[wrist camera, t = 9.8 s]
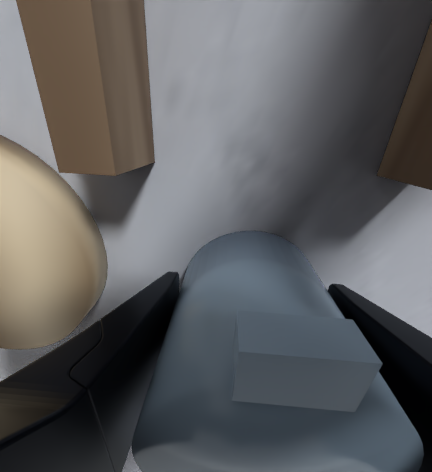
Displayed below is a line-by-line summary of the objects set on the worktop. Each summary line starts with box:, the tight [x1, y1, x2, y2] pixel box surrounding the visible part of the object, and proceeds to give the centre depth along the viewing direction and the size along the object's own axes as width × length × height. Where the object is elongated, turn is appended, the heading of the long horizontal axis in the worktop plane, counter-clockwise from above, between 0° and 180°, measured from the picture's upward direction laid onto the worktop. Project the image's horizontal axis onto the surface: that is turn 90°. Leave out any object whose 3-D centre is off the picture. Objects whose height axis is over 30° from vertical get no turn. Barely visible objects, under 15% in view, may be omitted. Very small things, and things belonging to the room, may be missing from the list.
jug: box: [132, 231, 424, 472], centre depth 8 cm, size 6×9×6 cm, turn 177°
